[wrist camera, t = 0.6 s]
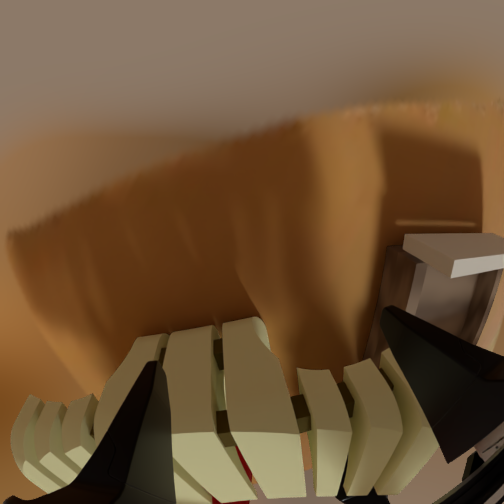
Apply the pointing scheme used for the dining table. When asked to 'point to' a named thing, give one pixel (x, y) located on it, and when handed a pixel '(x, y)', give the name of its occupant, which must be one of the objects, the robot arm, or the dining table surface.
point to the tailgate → (457, 252)
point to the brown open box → (432, 298)
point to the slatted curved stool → (243, 421)
